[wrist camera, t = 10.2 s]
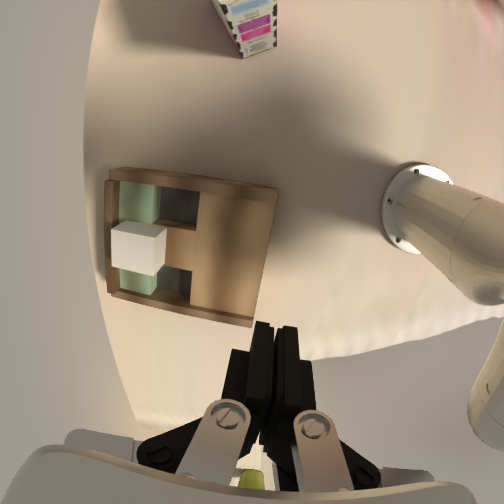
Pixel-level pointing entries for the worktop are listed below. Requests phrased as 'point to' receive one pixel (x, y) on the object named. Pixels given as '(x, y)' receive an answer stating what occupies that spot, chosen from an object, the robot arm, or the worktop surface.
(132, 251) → the cream block
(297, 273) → the worktop surface
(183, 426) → the robot arm
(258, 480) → the plant pot
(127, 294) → the box
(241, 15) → the candy bar box
